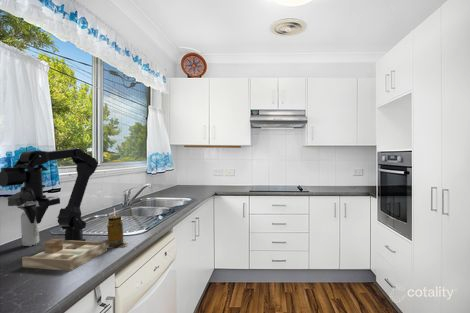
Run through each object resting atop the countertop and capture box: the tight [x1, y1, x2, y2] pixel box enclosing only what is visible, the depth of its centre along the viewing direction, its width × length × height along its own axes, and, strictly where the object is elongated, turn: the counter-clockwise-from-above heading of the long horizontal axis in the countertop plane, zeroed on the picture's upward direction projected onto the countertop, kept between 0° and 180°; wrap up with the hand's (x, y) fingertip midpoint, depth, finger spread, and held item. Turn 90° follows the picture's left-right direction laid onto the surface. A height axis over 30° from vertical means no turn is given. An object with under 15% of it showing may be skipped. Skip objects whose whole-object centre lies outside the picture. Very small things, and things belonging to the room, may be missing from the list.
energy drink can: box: [20, 210, 40, 247], centre depth 118 cm, size 6×6×15 cm
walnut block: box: [43, 238, 63, 253], centre depth 102 cm, size 4×4×4 cm
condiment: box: [106, 215, 131, 249], centre depth 114 cm, size 7×8×12 cm
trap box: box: [21, 239, 108, 272], centre depth 101 cm, size 18×20×4 cm
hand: (35, 223), depth 104 cm, fingers open, 3 cm apart
